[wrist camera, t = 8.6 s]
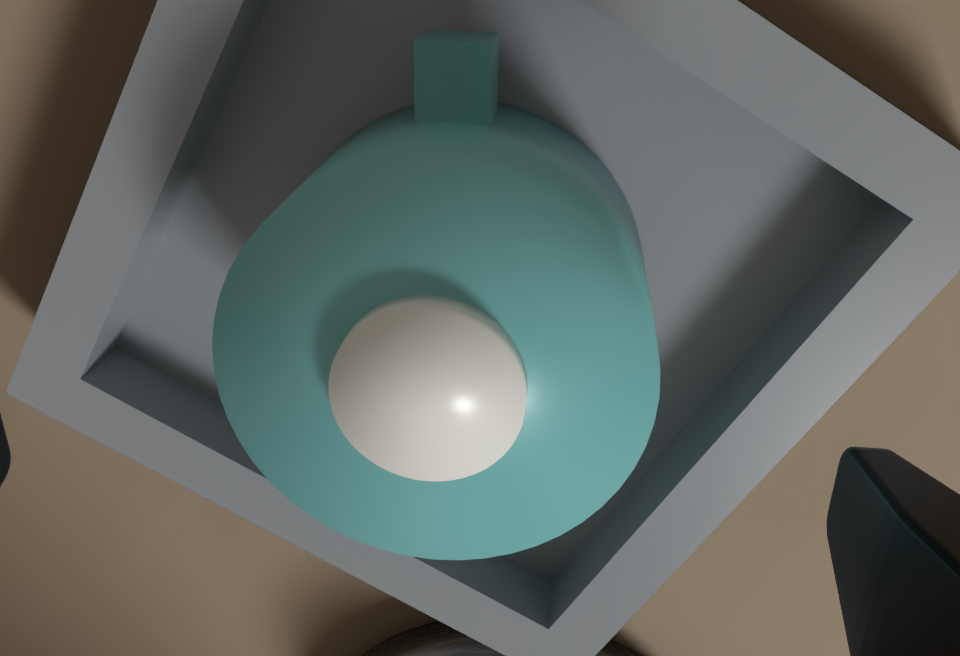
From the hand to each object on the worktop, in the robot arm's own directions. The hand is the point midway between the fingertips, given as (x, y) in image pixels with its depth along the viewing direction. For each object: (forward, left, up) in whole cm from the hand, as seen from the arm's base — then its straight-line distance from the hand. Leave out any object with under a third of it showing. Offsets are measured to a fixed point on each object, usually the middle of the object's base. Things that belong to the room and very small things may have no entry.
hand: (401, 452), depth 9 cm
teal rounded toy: (0, 0, -5) cm, 5 cm away
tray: (0, 0, -6) cm, 6 cm away
